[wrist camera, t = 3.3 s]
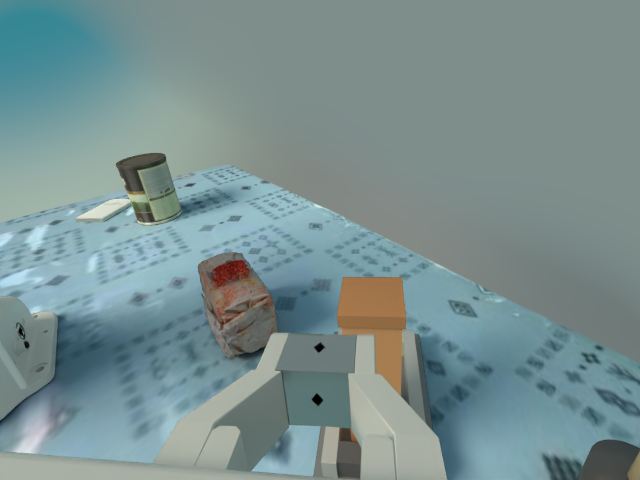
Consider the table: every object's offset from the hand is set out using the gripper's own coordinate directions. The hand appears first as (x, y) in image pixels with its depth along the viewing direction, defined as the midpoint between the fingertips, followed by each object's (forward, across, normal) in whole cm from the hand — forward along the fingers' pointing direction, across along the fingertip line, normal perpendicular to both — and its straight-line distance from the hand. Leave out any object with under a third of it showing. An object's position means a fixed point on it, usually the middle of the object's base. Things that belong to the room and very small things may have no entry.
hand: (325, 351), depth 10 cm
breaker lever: (+15, -1, +21) cm, 26 cm away
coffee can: (+66, +49, +16) cm, 84 cm away
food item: (+29, +16, +20) cm, 39 cm away
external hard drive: (+71, +67, +16) cm, 99 cm away
